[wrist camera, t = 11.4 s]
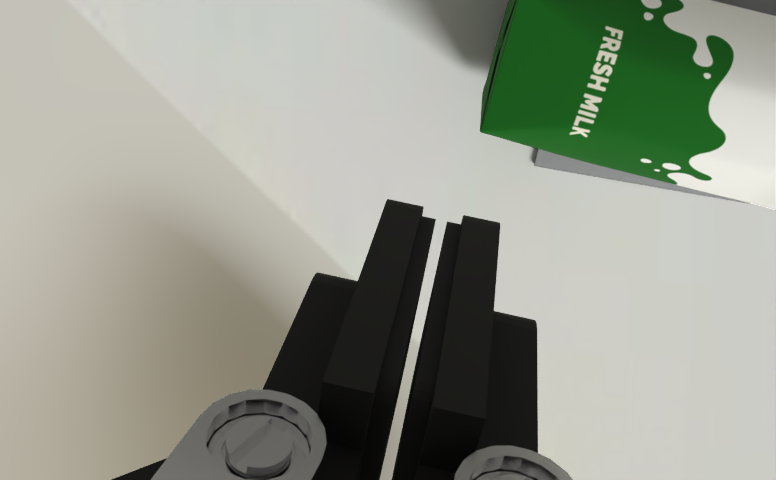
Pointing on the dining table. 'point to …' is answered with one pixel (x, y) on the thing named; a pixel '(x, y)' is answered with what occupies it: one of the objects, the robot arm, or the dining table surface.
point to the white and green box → (642, 90)
